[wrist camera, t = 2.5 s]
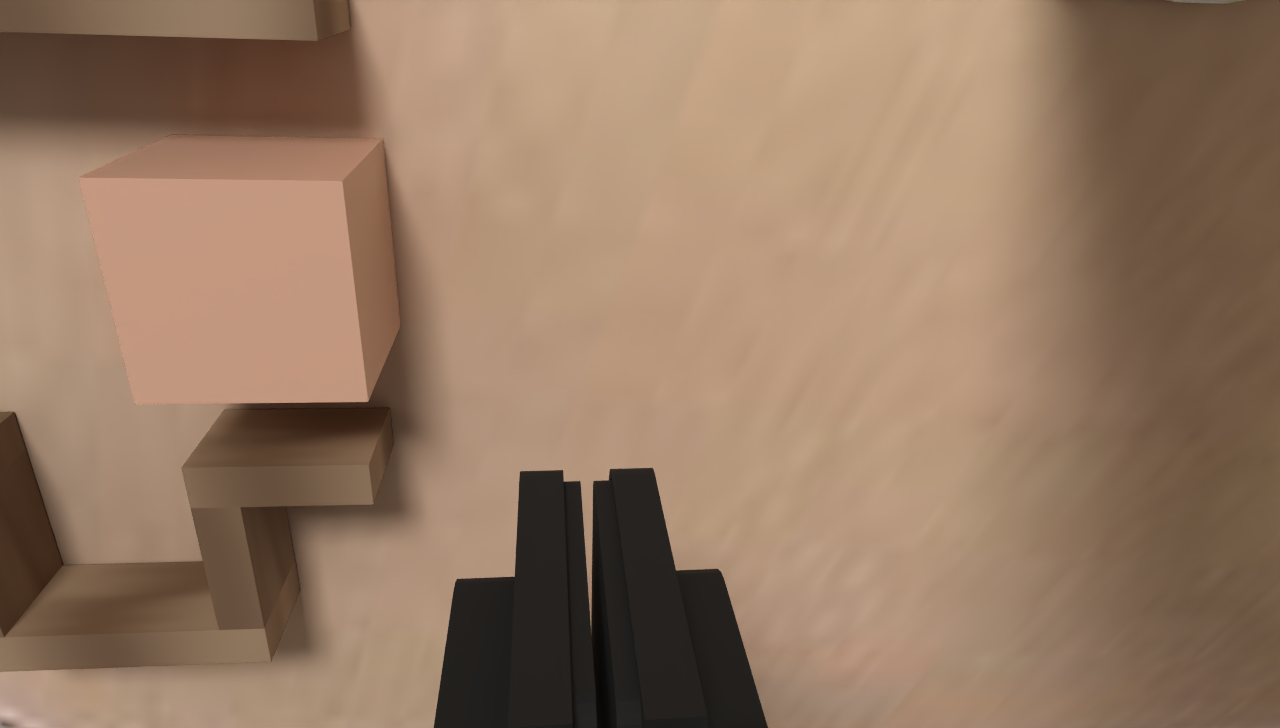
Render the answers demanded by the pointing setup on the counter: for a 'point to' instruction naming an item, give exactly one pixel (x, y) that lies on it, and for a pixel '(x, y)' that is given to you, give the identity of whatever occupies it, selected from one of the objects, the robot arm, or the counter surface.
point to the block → (248, 267)
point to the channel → (214, 473)
